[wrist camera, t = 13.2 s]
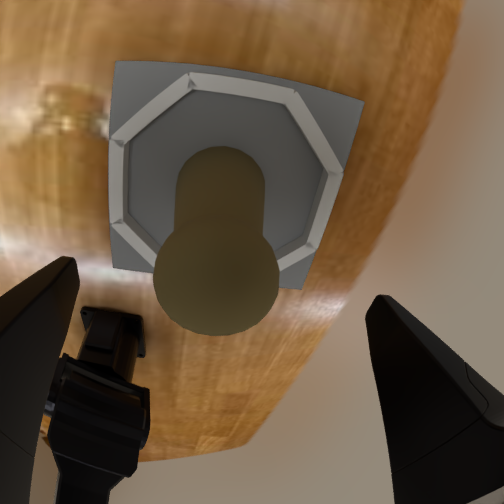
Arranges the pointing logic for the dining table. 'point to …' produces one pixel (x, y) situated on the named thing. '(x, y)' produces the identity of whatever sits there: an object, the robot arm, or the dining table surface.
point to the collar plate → (231, 135)
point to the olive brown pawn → (217, 246)
